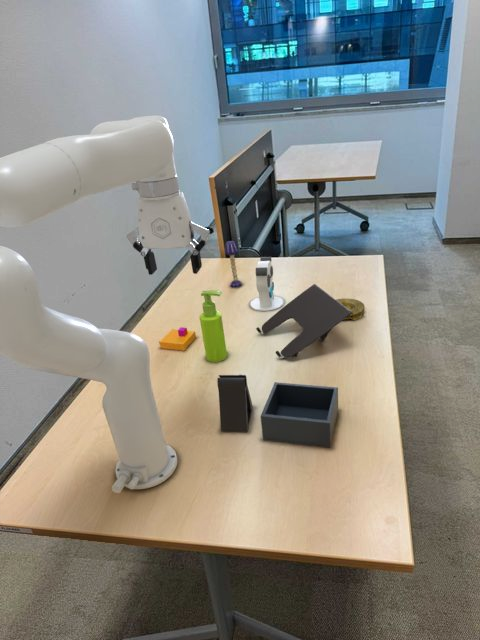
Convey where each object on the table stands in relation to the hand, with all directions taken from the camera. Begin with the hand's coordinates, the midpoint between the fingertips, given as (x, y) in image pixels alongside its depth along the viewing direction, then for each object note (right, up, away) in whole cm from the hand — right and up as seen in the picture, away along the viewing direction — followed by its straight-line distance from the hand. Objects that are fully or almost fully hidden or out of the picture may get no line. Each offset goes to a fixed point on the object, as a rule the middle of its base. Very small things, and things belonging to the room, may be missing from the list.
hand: (174, 271), depth 100 cm
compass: (+45, -5, +52) cm, 69 cm away
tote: (+27, -33, +7) cm, 43 cm away
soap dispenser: (+6, -18, +35) cm, 40 cm away
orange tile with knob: (-7, -14, +44) cm, 47 cm away
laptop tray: (+30, -13, +40) cm, 52 cm away
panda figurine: (+20, -1, +63) cm, 66 cm away
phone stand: (+13, -33, +10) cm, 36 cm away
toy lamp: (+8, +8, +79) cm, 80 cm away
